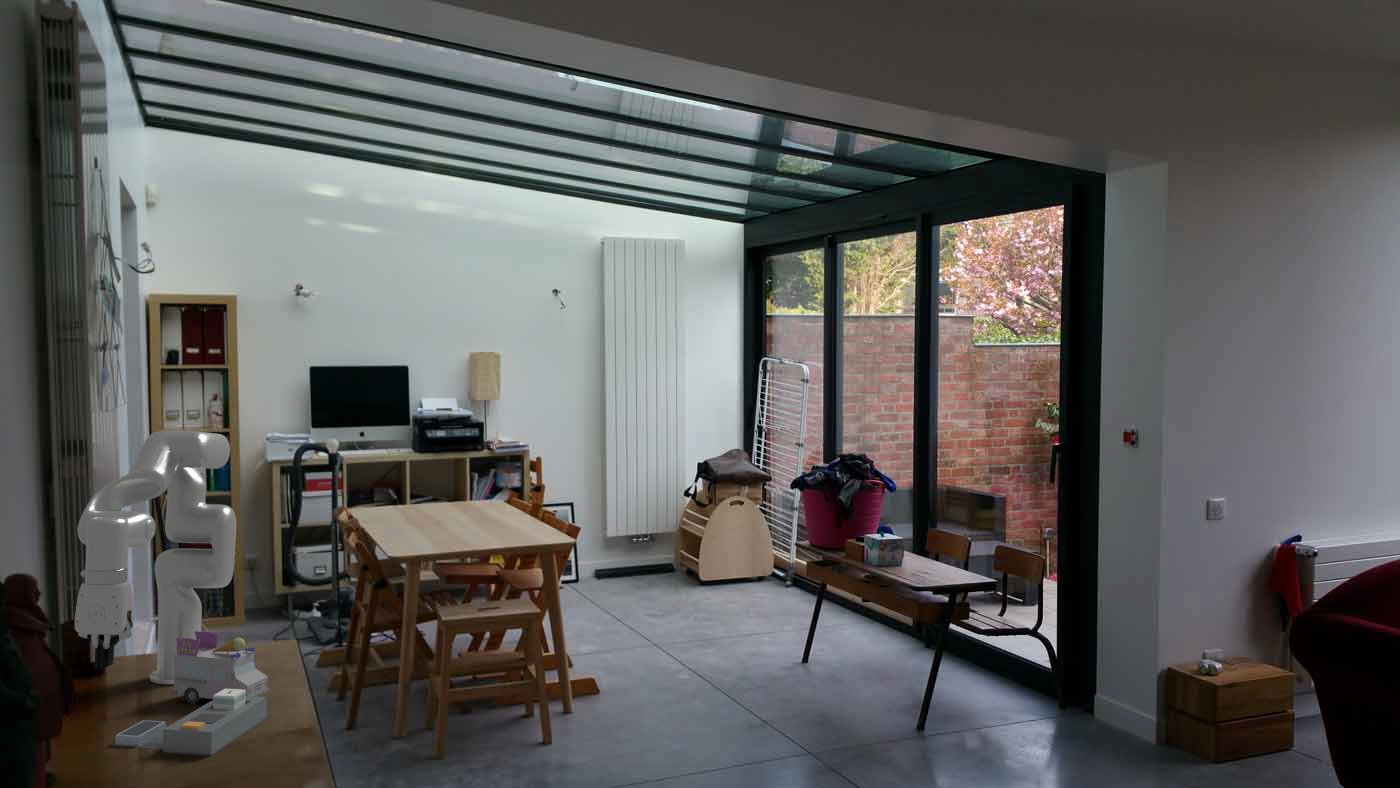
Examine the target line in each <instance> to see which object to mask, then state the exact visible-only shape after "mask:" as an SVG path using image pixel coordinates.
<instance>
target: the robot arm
mask: <svg viewBox="0 0 1400 788" xmlns="http://www.w3.org/2000/svg"><path fill="white" fill-rule="evenodd" d="M230 453H231V447H230V443H229V440H228V438H226V436H224V435H223V434H220V433H213V432H205V431H200V430H199V431H198V430H197V431H196V430H195V431H194V430H159V431H155V432H153V433H151V434H150V435H148V437H147V438H146V439H145V441H144V442H143V445H142V447H141V448H140V451H139V452H138V454H137V456H136V458H135V460H134V462H133V464H132V466H131V467H130V470H129V472H128V473H126V474H125V475H123V476H121V477H119V478H117V479H115V480H113V481H112V482H110V483H108V484H107V485H105V486H104V487H103V488H100V489H99V490H98V491H97V492H96V493H94V494H93V496H92V497H91V498H90V500H89V501H88V503H87V505H86V506H85V508H84V510H83V512H82V515H81V516H80V519H79V521H78V525H77V536H78V538H79V540H80V542H81V544H84V545H85V569H83V570H81V572H80V576H81V577H82V578H84V583H81V585H80V587H79V592H78V595H77V600H76V605H75V614H74V615H75V616H74V630H75V631H76V632H77V633H78V634H77V635H78V636H79V637H80V638H83V639H87V640H88V641H89V642H90V643H91V646H92V648H94V662H95V669H99V668H100V669H106V668H108V667H111V666H112V665H114V660H115V659H114V658H115V646H117V645H118V643H119V642H120V641H122V640H127V639H129V638H132V637H133V636H132V635H133V634H132V629H133V626H134V617H135V615H134V614H135V612H134V611H135V610H134V598H133V591H132V586H131V583H130V582H128V574H129V573H128V570H129V569H128V568H129V567H128V565H129V548H140V547H143V546H145V545H147V544H148V543H149V542H151V541H152V540H153V537H155V533H156V522H155V519H154V518H153V516H152V515H150V514H149V513H147V512H144V511H143V512H142V511H129V510H128V511H127V510H126V511H125V510H121V509H123V508H127V507H129V506H131V505H132V506H133V505H137V504H141V503H143V502H146V501H149V500H152V499H155V498H157V497H160V496H162V495H163V494H164V493H166V491H167V496H166V498H167V499H166V511H165V524H164V527H165V528H164V529H165V535H166V538H167V539H168V540H169V541H171V542H174V543H180V544H181V543H183V544H185V543H186V544H210V545H211V546H212V547H211V548H185V547H184V548H172V549H167V550H165V551H162V552H161V553H160V554H159V555H158V556H157V558H156V559H155V562H154V575H155V581H156V587H157V599H158V602H157V603H158V607H157V608H158V613H157V615H158V617H157V620H158V622H157V660H156V661H157V664H156V667H157V670H154V671H153V672H151V673H150V675H149V680H150V682H152V683H155V684H158V685H174V654H177V641H176V638H191V639H195V640H196V635H195V631H199V632H202V617H203V615H202V613H203V610H202V609H203V606H202V602H201V599H200V597H199V595H198V594H197V593H196V591H195V590H194V589H219V588H220V589H221V588H225V587H227V586H228V585H229V584H230V583H231V581H232V578H233V575H234V569H235V558H236V557H235V556H236V555H235V554H236V541H237V517H236V513H235V511H234V509H233V508H232V507H230V506H229V505H227V504H216V503H215V504H212V503H210V504H209V503H206V493H207V483H206V480H205V478H204V477H203V475H202V474H201V473H200V471H199V470H198V469H211V470H212V469H214V470H215V469H217V470H218V469H221V468H222V467H224V466H226V464H227V463H228V461H229V458H230V455H231V454H230Z"/></svg>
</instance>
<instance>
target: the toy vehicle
mask: <svg viewBox="0 0 1400 788" xmlns="http://www.w3.org/2000/svg"><path fill="white" fill-rule="evenodd" d="M195 635H196V640H195V639H191V638H176V641H177V654H174V684H173V689H172V690H171V695H172V696H182V701H184V702H185V701H186V702H187V703H188V704H191V705H193V704H195V705H196V704H197V703H199V702H201V700H202V699H211V700H213V695H215V694H216V693H218V692H220V691H222V690H223V689H242V690H246V696H257V697H263V696H264V695H266V694H269V692H270V687H269V688H268V683H269V682H268V681H269V680H268V678H269V677H268V676H267V675H266V674H265V673H263V672H262V671H260V670H258V669H257V667H258V660H255V650H256V649H255V647H254V646H252V647H249V648H245V647H246V641H245V639H244V638H241V637H235V638H234V639H231V640H230V641H228V642H227V643H225V644H222V645H221V646H219V647H218V641H219V633H218V632H213V631H202V630H201V632H199V631H195Z"/></svg>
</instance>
